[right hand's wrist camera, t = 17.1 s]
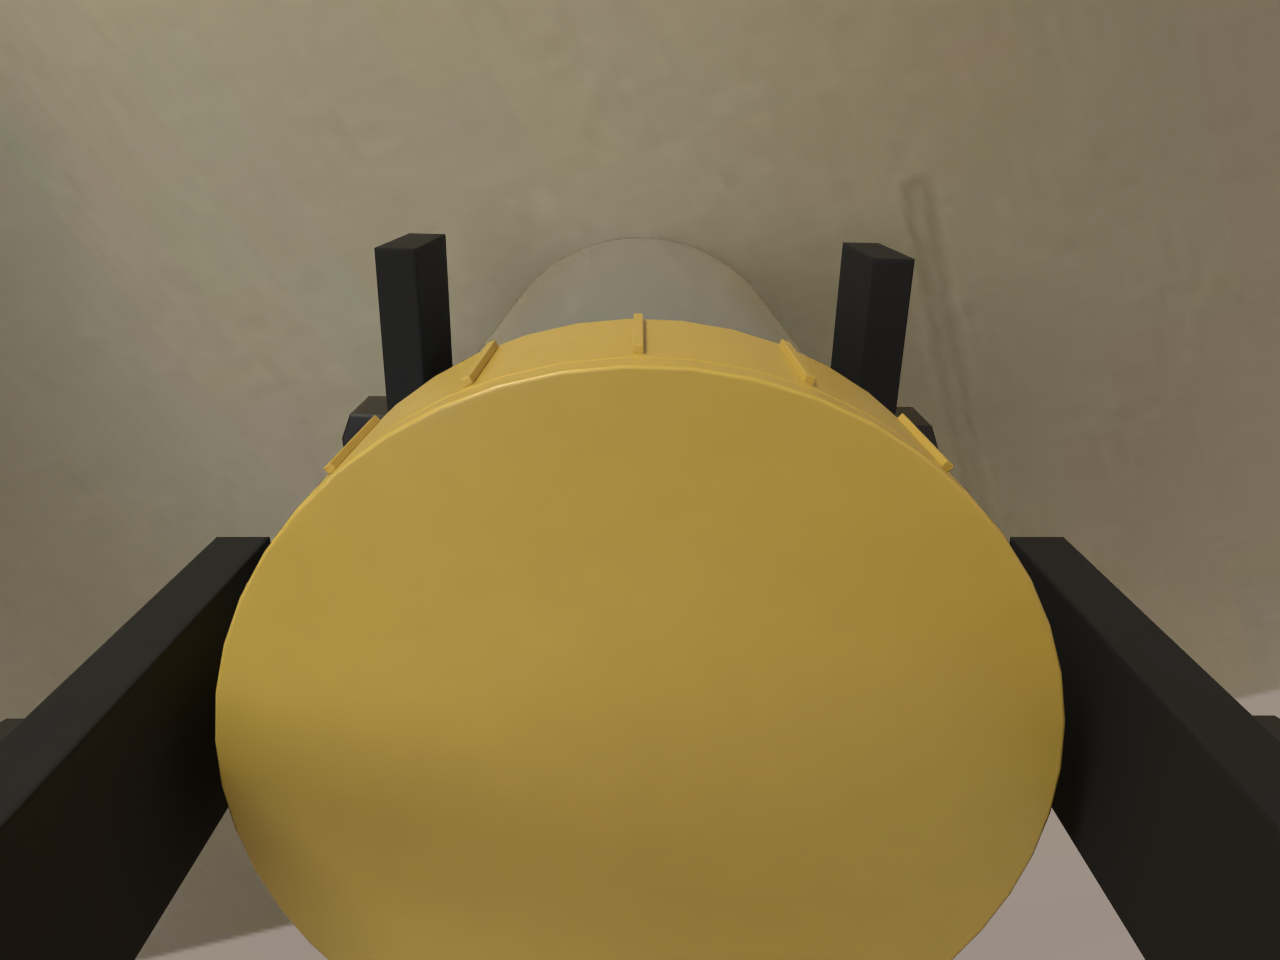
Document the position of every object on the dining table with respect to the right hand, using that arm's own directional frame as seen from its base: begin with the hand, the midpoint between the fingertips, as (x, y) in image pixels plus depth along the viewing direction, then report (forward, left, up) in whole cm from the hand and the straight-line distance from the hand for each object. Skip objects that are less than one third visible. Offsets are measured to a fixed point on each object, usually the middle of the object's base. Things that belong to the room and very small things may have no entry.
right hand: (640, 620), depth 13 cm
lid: (0, 0, +3) cm, 3 cm away
